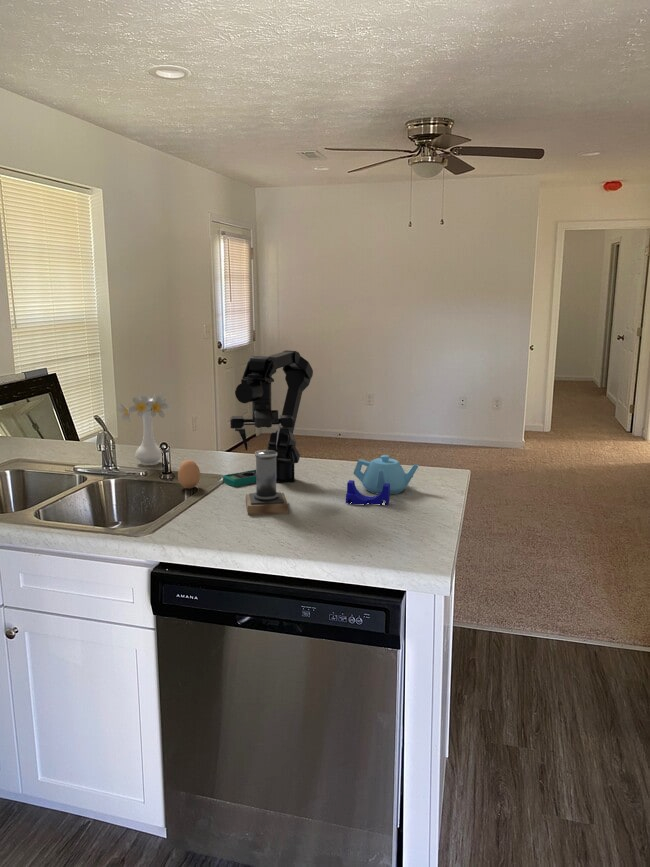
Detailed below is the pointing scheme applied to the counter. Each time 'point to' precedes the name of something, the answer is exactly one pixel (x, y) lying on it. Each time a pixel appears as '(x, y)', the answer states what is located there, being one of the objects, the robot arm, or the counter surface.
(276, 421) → the robot arm
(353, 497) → the cable clip
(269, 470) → the grey plastic cylinder
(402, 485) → the teapot
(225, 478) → the digital multimeter
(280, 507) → the stand
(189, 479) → the egg
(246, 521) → the counter surface
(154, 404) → the flower vase
